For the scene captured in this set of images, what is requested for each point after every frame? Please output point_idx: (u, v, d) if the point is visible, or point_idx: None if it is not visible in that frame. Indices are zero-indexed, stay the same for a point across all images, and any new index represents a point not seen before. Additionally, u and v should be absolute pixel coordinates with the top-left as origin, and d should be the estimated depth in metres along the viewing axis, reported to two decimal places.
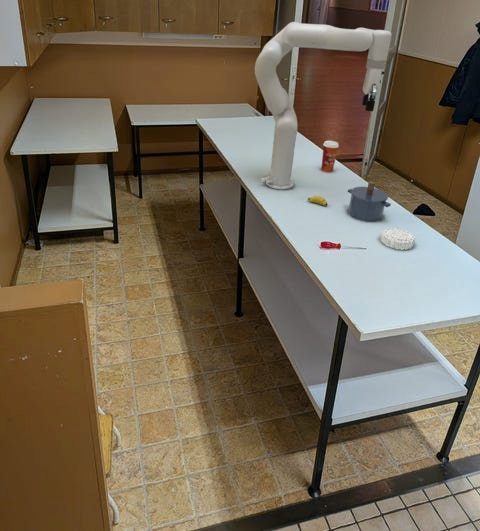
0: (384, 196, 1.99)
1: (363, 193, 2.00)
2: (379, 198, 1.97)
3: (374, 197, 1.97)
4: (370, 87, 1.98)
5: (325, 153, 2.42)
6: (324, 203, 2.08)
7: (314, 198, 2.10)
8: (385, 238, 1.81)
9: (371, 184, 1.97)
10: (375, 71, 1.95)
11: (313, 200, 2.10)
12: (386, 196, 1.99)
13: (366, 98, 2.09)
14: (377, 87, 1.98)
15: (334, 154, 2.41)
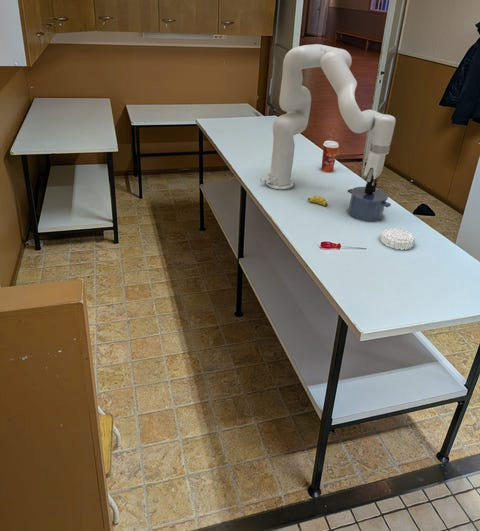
0: (384, 196, 1.99)
1: (363, 193, 2.00)
2: (379, 198, 1.97)
3: (374, 197, 1.97)
4: (367, 170, 1.92)
5: (325, 153, 2.42)
6: (324, 203, 2.08)
7: (314, 198, 2.10)
8: (385, 238, 1.81)
9: None
10: (373, 155, 1.89)
11: (313, 200, 2.10)
12: (386, 196, 1.99)
13: None
14: (374, 171, 1.91)
15: (334, 154, 2.41)
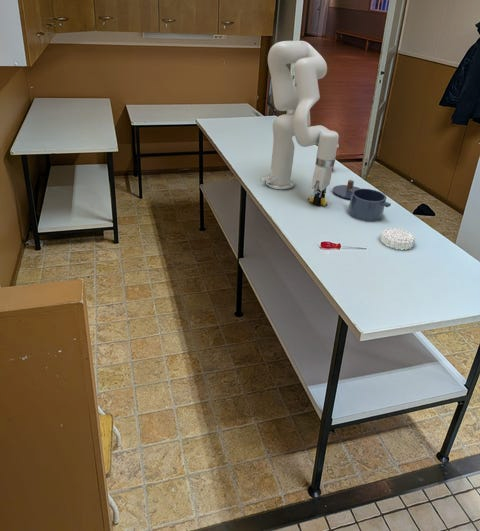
0: None
1: (343, 191, 2.22)
2: None
3: None
4: (314, 183, 2.03)
5: None
6: (324, 203, 2.08)
7: None
8: (385, 238, 1.81)
9: (350, 182, 2.19)
10: (318, 169, 2.00)
11: None
12: None
13: None
14: (320, 184, 2.02)
15: None
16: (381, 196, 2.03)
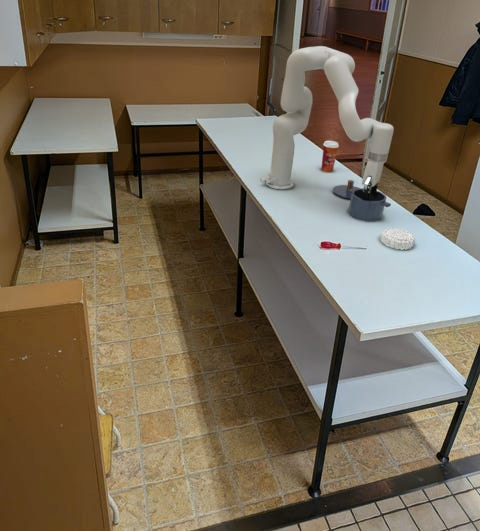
0: None
1: (343, 191, 2.22)
2: None
3: None
4: (365, 178, 1.93)
5: (325, 153, 2.42)
6: None
7: None
8: (385, 238, 1.81)
9: (350, 182, 2.19)
10: (371, 163, 1.90)
11: None
12: None
13: (372, 187, 2.03)
14: (373, 179, 1.92)
15: (334, 154, 2.41)
16: (381, 196, 2.03)
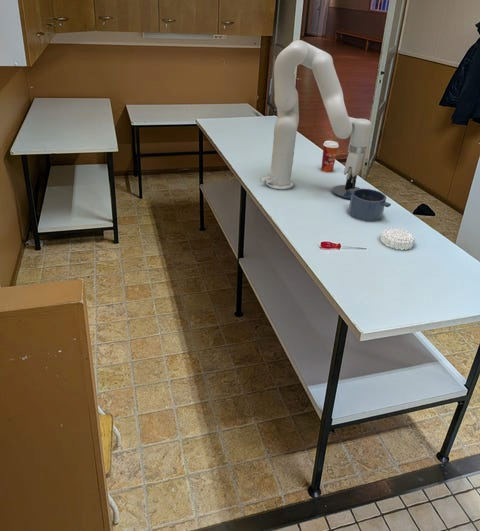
0: None
1: (343, 191, 2.22)
2: None
3: None
4: (347, 169, 2.14)
5: (325, 153, 2.42)
6: None
7: None
8: (385, 238, 1.81)
9: None
10: (351, 155, 2.11)
11: None
12: None
13: None
14: (353, 170, 2.13)
15: (334, 154, 2.41)
16: (381, 196, 2.03)
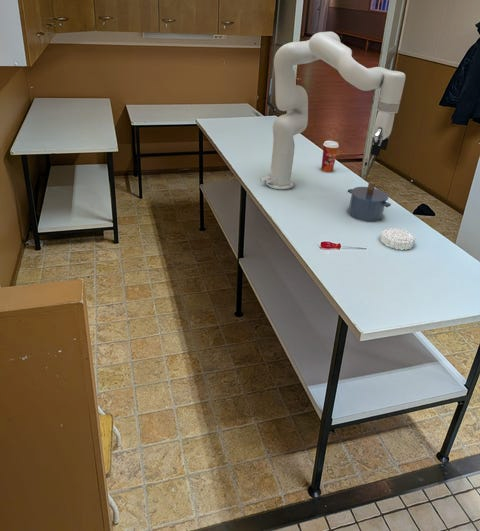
0: (384, 196, 1.99)
1: (363, 193, 2.00)
2: (379, 198, 1.97)
3: (374, 197, 1.97)
4: (376, 130, 1.84)
5: (325, 153, 2.42)
6: None
7: None
8: (385, 238, 1.81)
9: (371, 184, 1.97)
10: (382, 114, 1.81)
11: None
12: (386, 196, 1.99)
13: (382, 142, 1.94)
14: (383, 131, 1.83)
15: (334, 154, 2.41)
16: None
